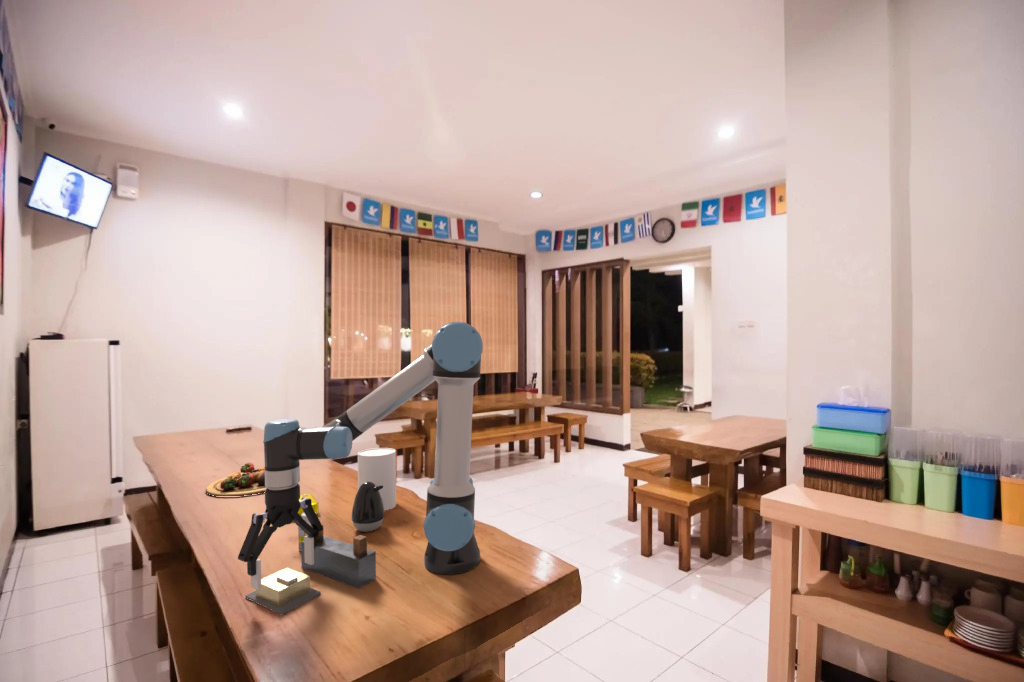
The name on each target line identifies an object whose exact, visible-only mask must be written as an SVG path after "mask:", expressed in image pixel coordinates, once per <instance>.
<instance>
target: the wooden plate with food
mask: <svg viewBox="0 0 1024 682" xmlns="http://www.w3.org/2000/svg"><path fill="white" fill-rule="evenodd" d="M266 488H267V487H266V486H265V467H261V468H260V467H258V468H257V469H255V465H254V463H252V462H247V463H245V464H244V465H242V466H241V467H240V471H234V472H232V473H230V474H228V475H227V476H226V477H223V478H220V479H217V480H215V481H213V482H210V484H209V485H207V486H206V488H205V493H206V494H207V493H208V494H210V495H214V496H244V495H252V494H258V493H264V492H265V489H266ZM264 494H265V493H264Z"/></svg>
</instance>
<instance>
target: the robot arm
mask: <svg viewBox="0 0 1024 682" xmlns="http://www.w3.org/2000/svg"><path fill="white" fill-rule="evenodd" d="M483 349H484V343H483V339H482V336H481V335H480V333H479V331H478V330H477V329H476V327H474V326H473V325H471V324H470V323H466V322H464V321H463V322H462V321H452V322H449V323H446V324H444V325H443V326H441V327H440V328H438V330H437V331H436V333H435V335H434V336H433V339H432V343H431V344H429V345H428V346H427V347H425V348H424V350H423V354H422V355H421V356H420V357H418V358H417V359H415V360H414V361H413V362H411V363H410V364H409V365H406V367H404V368H403V369H402V370H400V371H399V372H398V373H396V374H395V375H393V376H392V377H390V378H389V379H388V380H386V381H385V382H383V383H382V384H381V385H380V386H378V387H377V388H375V389H374V390H372V391H371V392H370V393H369V394H367V395H365V396H364V397H363V398H362V399H360V400H359V401H358V402H356V403H355V404H353V405H352V406H351V407H349V408H348V409H347V410H346V411H344V412H343V413H341V414H340V415H338V416H337V417H336V418H334V419H333V420H331V421H329V422H328V423H326V424H325V425H323V426H319V427H316V426H315V427H300V422H299V421H298V420H297V419H296V418H281V419H274V420H270V421H268V422H267V423H265V425H264V430H263V432H264V434H263V442H262V443H263V452H264V453H263V454H264V455H263V456H264V458H263V460H264V468H265V486H266V487H267V488H266V489H265V493H264V505H265V511H264V512H262V513H256V512H254V513H253V514H251V523H250V526H249V529H248V530H247V534H246V536H245V538H244V541H243V544H242V546H241V547H240V550H239V553H238V556H237V560H239V561H241V562H244V563H247V564H246V567H247V569H246V570H247V575H248V576H250V587H251V588H252V589H254V590H255V591H256V590H260V589H261V579H262V560H261V559H260V558H259V557H260V555H261V554H262V552H263V550H264V549H265V547H266V545H267V543H268V542H269V541H270V538H271V537H272V535H273V533H275V532H276V531H277V530H278V528H283V527H285V526H286V525H290V524H292V523H294V524H295V525H297V527H298V526H299V527H300V528H301V529H302V530H303V531H304V532H305V533H306V534H308V536H305V537H304V557H305V563H307V564H310V565H313V564H314V549H315V548H316V537H318V536H319V532H320V531H322V530H323V531H324V525H323V524H322V523H321V521H320V518H319V517H318V514H317V515H316V513H315V511H314V509H313V507H312V502H311V499H309V498H305V497H303V498H302V499H301V500H300V501H299V499H300V495H301V485H300V484H299V482H301V471H300V470H301V469H300V466H301V465H300V461H303V460H304V461H305V460H306V461H308V460H309V461H310V460H337V459H346V458H348V457H349V456H350V454H351V451H352V448H353V441H355V440H356V439H357V438H359V437H360V436H362V435H363V434H364V433H365V432H367V431H368V430H369V429H371V428H372V427H373V426H375V425H376V424H378V423H379V422H380V421H382V420H383V419H385V418H386V417H388V415H390V414H391V413H393V412H394V411H395V410H397V409H398V408H400V407H401V406H402V405H404V404H405V403H406V402H408V401H409V400H410V399H412V398H413V397H415V396H416V395H417V394H420V392H422V391H423V390H424V389H425V388H427V387H428V386H429V385H430V386H431V384H432V383H433V382H437V384H438V385H437V386H438V387H437V405H436V406H437V407H436V409H437V410H436V411H437V412H436V427H435V428H436V431H435V432H436V433H435V452H434V453H435V455H434V471H433V472H434V476H433V477H434V478H432V479H431V480H430V484H429V486H428V487H427V489H426V492H427V493H426V513H425V514H426V515H425V518H424V521H423V530H424V531H423V532H424V535H425V538H426V540H427V541H428V542H427V545H426V549H425V552H424V556H423V557H424V560H423V561H424V567H425V568H426V569H427V570H428V571H430V572H432V573H435V574H440V575H455V574H462V573H466V572H468V571H471V570H473V569H475V568H476V567H477V566H478V565H479V564H480V563H481V551H480V548H479V545H478V542H477V539H476V535H475V533H474V532H475V526H476V522H475V505H476V504H475V503H476V501H475V499H476V498H475V496H476V487H474V481H473V478H472V477H471V476H470V473H471V471H470V470H471V455H472V454H471V452H472V430H473V428H472V427H473V408H474V407H473V404H474V387H475V386H474V385H475V383H477V382H478V381H479V380H480V379H481V371H482V370H481V369H482V365H481V364H482V355H483V351H484V350H483ZM300 507H301V508H302V509H303V511H304V513H305V515H306V517H307V518H308V520H309V522H310V524H311V526H312V527H311V526H310V525H309V524H308V523H307V522H306V521H305V520H304V519H303V518H302V517H301V516H300V515H299V514H298V511H299V509H300ZM322 525H323V526H322Z"/></svg>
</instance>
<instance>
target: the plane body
mask: <svg viewBox="0 0 1024 682" xmlns="http://www.w3.org/2000/svg"><path fill="white" fill-rule="evenodd" d="M322 526H323V527H324V525H323V524H322ZM301 546H302V551H301V569H304V570H307V571H309V572H312V573H315V574H318V575H321V576H322V577H325V578H328V579H331V580H334V581H336V582H339V583H342V584H344V585H347V586H350V587H353V588H355V589H361V588H363V587H364V586H366V585H368V584H370V583H371V582H373V581H375V580H377V572H376V571H377V565H376V564H377V561H376V560H377V554H376V550H372V549H369V548H368V537H367V536H365V535H362V534H359V535H357V536H355V537H353V540H352V543H350V542H345V541H344V540H343V541H342V540H339V539H335V538H332V537H329V536H327V535H324V529H323V530H322V531H320V532H319V536H318V537H316V548H315V549H314V564H313V565H310V564H307V563H305V557H304V541H302V542H301Z"/></svg>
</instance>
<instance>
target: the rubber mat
mask: <svg viewBox="0 0 1024 682" xmlns="http://www.w3.org/2000/svg"><path fill="white" fill-rule="evenodd" d="M320 595H322V593H321V591H320V590H317V589H315V588H313V587H310V591H309V592H307V593H305V594H303V595H301V596H299V597H297V598H295V599H293V600H291V601H290V602H288V603H286V604H284V605H282V606H280V607H278V606H276V605H273V604H271V603H269V602H267V601H265V600H262V599H260V598H258V597H256V590H255V591H252V592H250V593H248V594H246V595H245V597H246V598H248V599H251V600H253V601H255V602H257V603H259V604H261V605H264V606H266V607H267V608H270V609H272V610H273V611H272V610H271V611H272V612H274V611H275V612H274V613H276V612H278V613H279V614H278V613H277V614H278V615H280V614H281V616H283V615H285V614H286V612H287V613H288V612H290V611H292V610H294V609H296V608H298V607H300V606H301V605H303V604H305V603H307V602H309V601H311V600H312V599H315V598H316V597H318V596H320ZM245 597H244V598H245ZM246 598H245V599H246ZM248 599H247V600H248ZM257 603H256V604H257ZM259 604H258V605H259ZM261 605H260V606H261ZM267 608H266V609H267ZM270 609H269V610H270ZM284 613H285V614H284ZM282 614H283V615H282Z"/></svg>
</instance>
